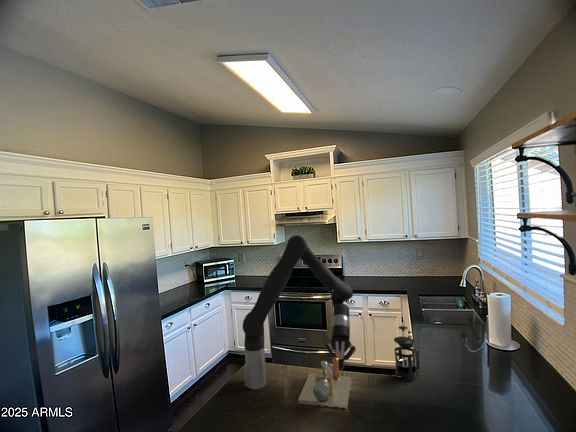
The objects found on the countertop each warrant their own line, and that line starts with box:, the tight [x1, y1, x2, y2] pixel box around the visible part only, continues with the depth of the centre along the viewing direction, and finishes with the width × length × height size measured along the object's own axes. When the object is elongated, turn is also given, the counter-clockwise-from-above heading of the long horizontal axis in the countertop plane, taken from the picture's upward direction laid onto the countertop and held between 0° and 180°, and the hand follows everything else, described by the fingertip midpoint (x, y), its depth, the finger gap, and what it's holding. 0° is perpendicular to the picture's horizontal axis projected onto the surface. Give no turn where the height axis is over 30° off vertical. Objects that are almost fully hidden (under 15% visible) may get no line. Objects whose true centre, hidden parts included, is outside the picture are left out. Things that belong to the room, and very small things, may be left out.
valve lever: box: [320, 356, 340, 383], centre depth 126 cm, size 17×3×9 cm, turn 13°
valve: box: [297, 362, 352, 410], centre depth 134 cm, size 20×22×12 cm
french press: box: [393, 325, 420, 382], centre depth 143 cm, size 12×9×23 cm
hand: (339, 370), depth 120 cm, fingers closed
